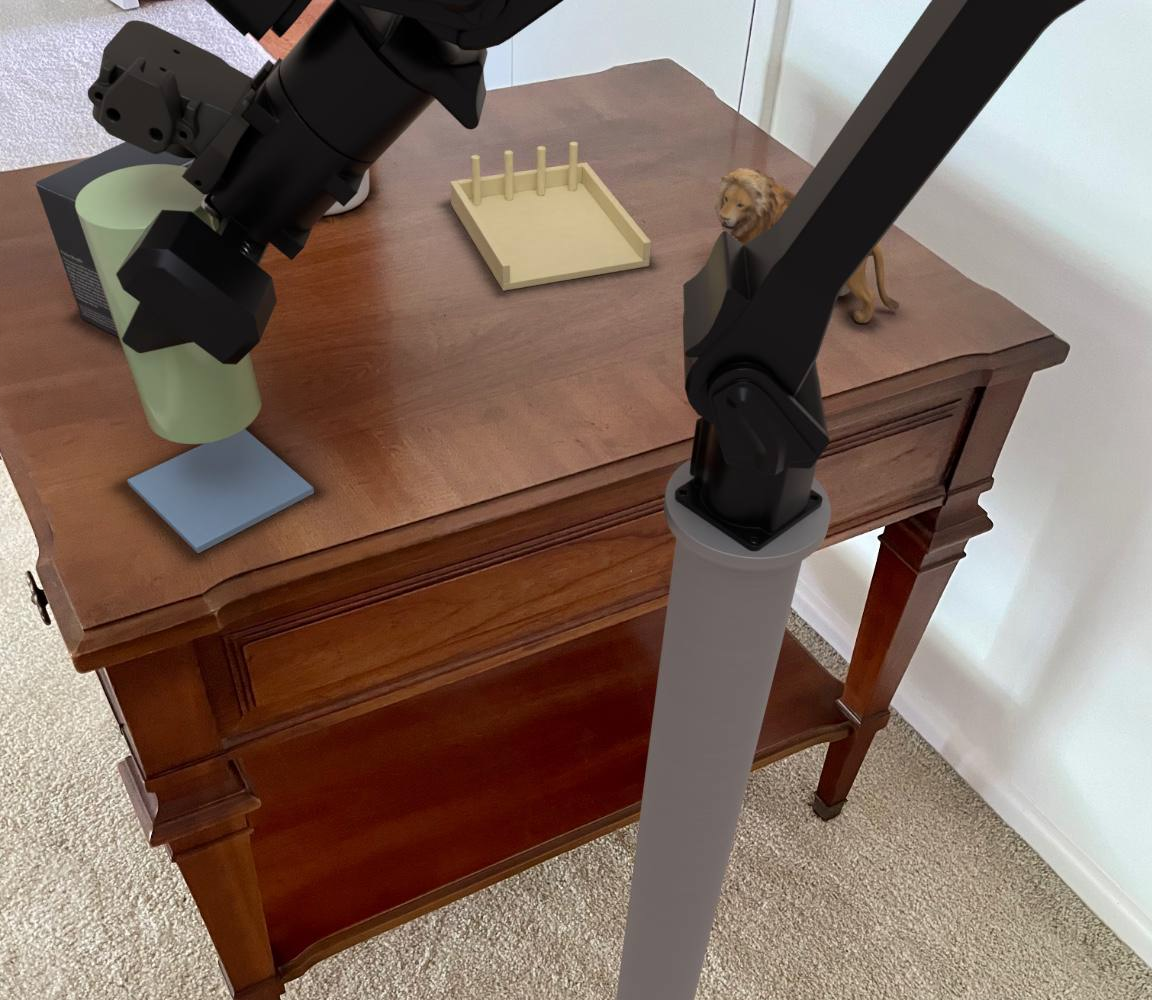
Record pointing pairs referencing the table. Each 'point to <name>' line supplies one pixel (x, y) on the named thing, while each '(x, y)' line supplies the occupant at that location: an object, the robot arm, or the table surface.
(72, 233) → the small box
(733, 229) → the lion figurine
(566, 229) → the dish rack
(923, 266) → the table surface
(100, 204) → the pale green cylinder
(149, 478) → the mat
